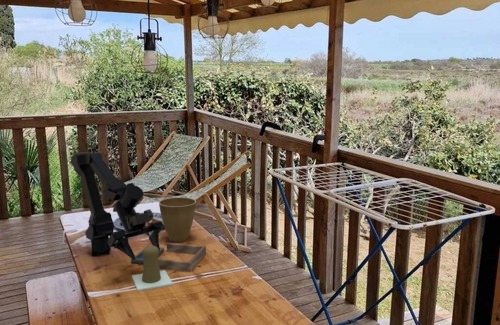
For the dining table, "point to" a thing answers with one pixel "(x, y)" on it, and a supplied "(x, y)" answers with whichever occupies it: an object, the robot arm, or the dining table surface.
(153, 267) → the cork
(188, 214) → the plant pot
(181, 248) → the frame
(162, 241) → the dining table surface
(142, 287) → the sage pad
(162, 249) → the tray
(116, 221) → the ceramic plate
